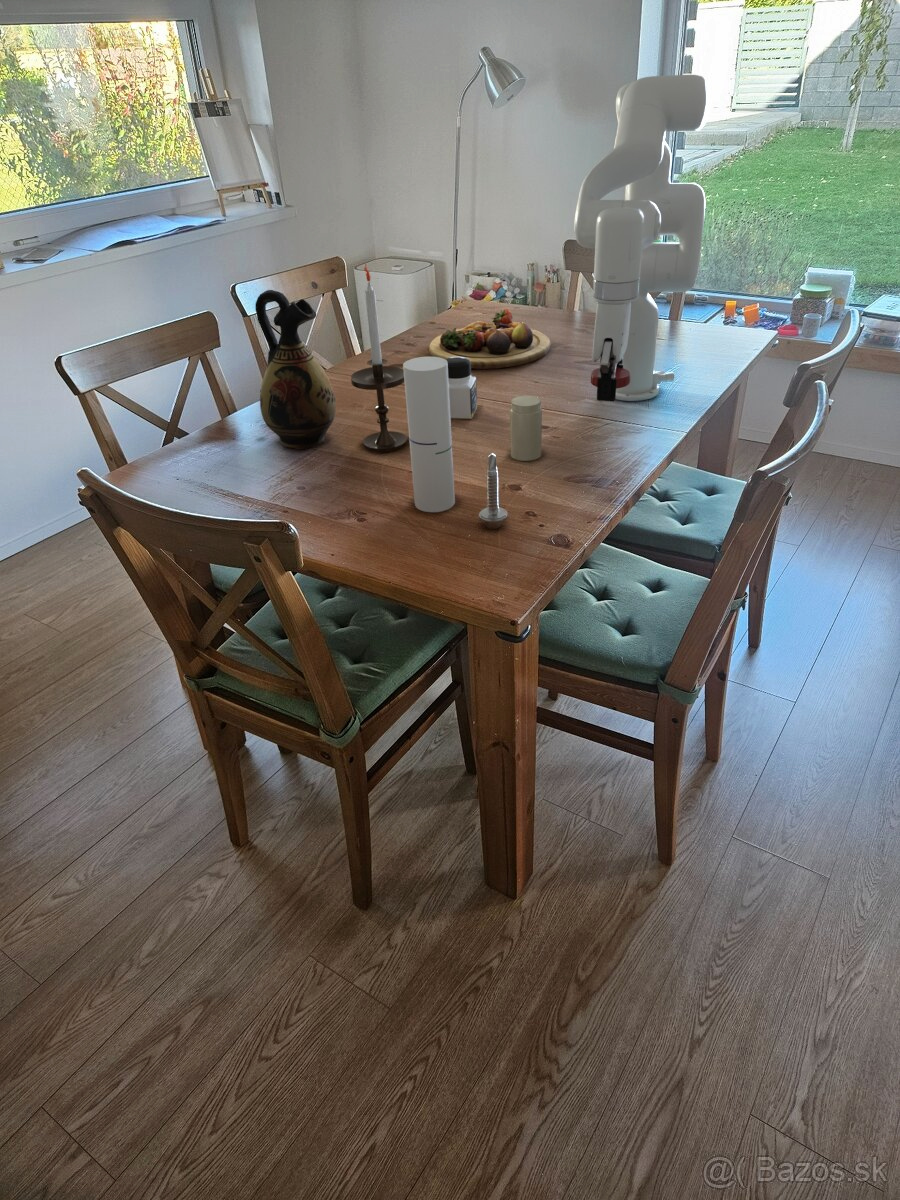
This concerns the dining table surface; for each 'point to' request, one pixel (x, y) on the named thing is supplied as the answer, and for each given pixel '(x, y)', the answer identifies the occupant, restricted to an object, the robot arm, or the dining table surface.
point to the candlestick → (378, 382)
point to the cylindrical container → (430, 432)
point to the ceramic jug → (293, 378)
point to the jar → (526, 428)
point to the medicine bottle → (461, 388)
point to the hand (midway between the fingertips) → (609, 392)
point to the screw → (493, 498)
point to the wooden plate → (492, 343)
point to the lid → (621, 376)
